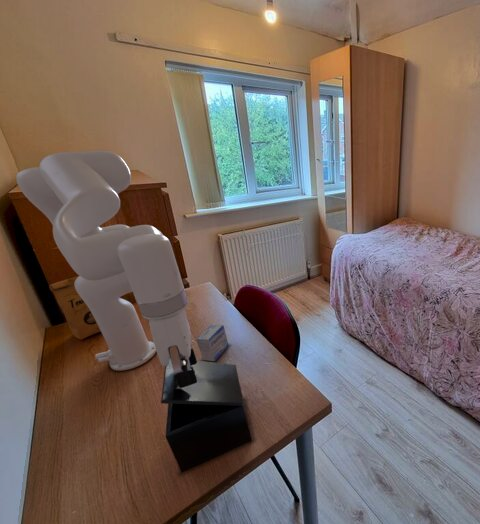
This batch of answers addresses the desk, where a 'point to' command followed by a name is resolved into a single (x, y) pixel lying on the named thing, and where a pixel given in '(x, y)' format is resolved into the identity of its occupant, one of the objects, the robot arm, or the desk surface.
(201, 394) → the bin lid
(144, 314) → the robot arm
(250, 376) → the desk surface
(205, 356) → the medicine box
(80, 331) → the coffee package
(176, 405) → the bin
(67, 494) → the desk surface
